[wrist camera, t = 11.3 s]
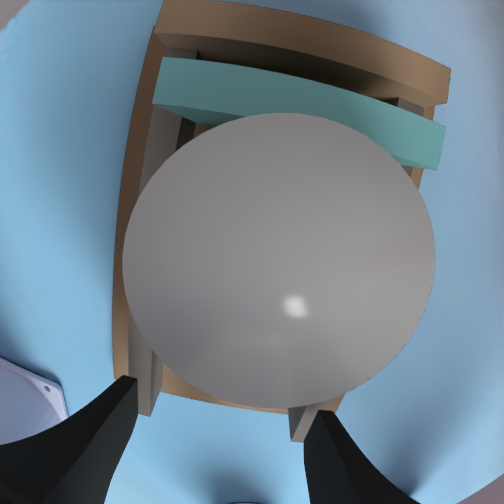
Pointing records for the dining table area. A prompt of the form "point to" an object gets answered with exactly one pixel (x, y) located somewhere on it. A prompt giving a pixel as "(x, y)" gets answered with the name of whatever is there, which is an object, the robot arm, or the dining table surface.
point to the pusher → (292, 105)
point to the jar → (278, 260)
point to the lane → (184, 130)
